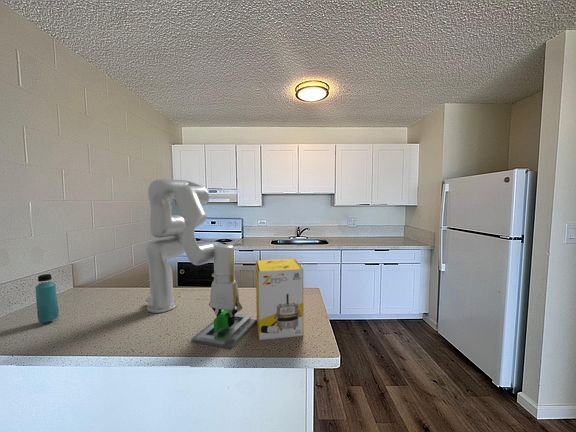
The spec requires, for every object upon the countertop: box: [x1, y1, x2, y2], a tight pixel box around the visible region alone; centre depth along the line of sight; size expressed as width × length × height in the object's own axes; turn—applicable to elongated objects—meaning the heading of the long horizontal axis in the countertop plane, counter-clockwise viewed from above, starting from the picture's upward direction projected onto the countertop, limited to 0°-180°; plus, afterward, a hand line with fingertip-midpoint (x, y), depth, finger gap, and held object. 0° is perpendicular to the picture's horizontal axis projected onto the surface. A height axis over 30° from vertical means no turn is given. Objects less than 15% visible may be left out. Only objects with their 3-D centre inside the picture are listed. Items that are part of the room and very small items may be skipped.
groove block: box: [190, 313, 257, 350], centre depth 101 cm, size 16×20×2 cm
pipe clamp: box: [213, 310, 229, 332], centre depth 101 cm, size 11×4×5 cm, turn 169°
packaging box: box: [255, 258, 304, 341], centre depth 103 cm, size 16×16×25 cm
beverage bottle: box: [34, 273, 60, 323], centre depth 109 cm, size 6×7×20 cm
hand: (225, 324), depth 101 cm, fingers closed on pipe clamp, 4 cm apart
